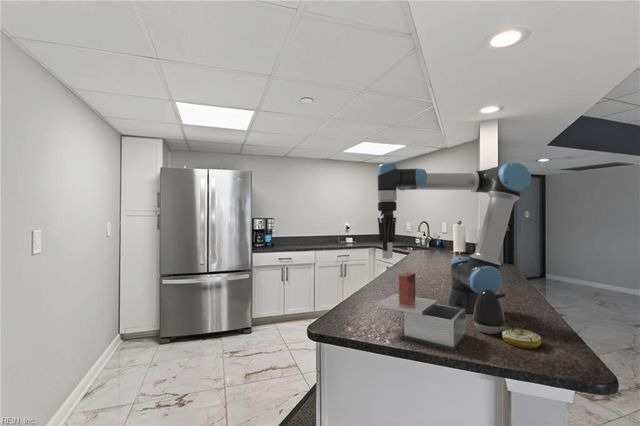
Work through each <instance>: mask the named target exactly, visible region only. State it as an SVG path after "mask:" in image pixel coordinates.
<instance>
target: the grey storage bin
mask: <svg viewBox="0 0 640 426" xmlns="http://www.w3.org/2000/svg"><path fill="white" fill-rule="evenodd" d="M403 314H404V316H403V318H404V320H403V321H404V324H403V325H404V328H403V329H404V331H403V332H404V336H403V337H404V339H406V340H410V341H414V342H418V343H422V344H427V345H429V346H435V347H439V348H443V349H448V350H450V351H455V350H456V349H457V347H458V345H459V344H460V343H461V342H462V340H463V339H464V337H465V336H466V333H467V332H466V331H467V330H466V329H467V328H466V327H467V326H466V325H467V321H466V318H467V317H466V310H465V309H462V308H456V307H450V306H447V305H445V304H444V305H443V304H439V303H438V304H436V305H435V306H434V307H432V308H431V309H430V310H428V311H427V312H426V313H424V314H423V315H419V314H414V313H409V312H404V311H403Z"/></svg>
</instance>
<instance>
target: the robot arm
mask: <svg viewBox="0 0 640 426" xmlns="http://www.w3.org/2000/svg"><path fill="white" fill-rule="evenodd" d="M376 175H377V201H378V202H377V211H379V212H380V217H377V223H378V238H379V243H382V260H383V259H384V260H390V259H393V243H395V242H396V241H395V240H396V225H397V224H396V223H397V217H396V216H395V217H394V212H395V211H397V208H398V207H397V205H398V204H397V202H396V201H397V199H398V198H397V190H398V191H406V190H407V191H409V190H414V191H415V190H422V191H423V190H426V191H427V190H431V191H432V190H435V191H436V190H440V191H441V190H442V191H443V190H444V191H445V190H446V191H455V190H456V191H457V190H458V191H461V190H465V191H468V190H469V191H470V192H472V193H486V194H487V195H488V196H489V198H490V199H489V201H488V205H487V209H486V212H485V215H484V220H483V223H482V226H481V230H480V235H479V238H478V241H477V245H476V248H475V251H474V253H472V254H471V255H469V257H452V259H451V261H450V273H451V275H450V283H451V288H450V293H449V296H448V298H447V305H446V306H450V307H456V308H462V309H465V310H466V313H467V314H473V312H474V307H475V303H476V300H477V298H478V296H479V294H480V293H481V292H482V291H483V290H486V289H489V290H492V291H494V292H495V293H496V292H498V291H499V290H500V288H501V287H502V285H503V281H504V279H503V275H502V273H501V266H502V264H501V262H500V260H499V257H500V254H501V250H502V247H503V243H504V239H505V236H506V233H507V228H508V225H509V222H510V218H511V213H512V211H513V207H514V203H515V202H517V201H518V200H520V198H521V194H522V191H525V190H526V189H527V188H528V187H529V186H530V183H531V181H532V176H531V172H530V170H529V169H528V167H526V165H524V164H523V163H520V162H517V161H516V162H515V161H514V162H506V163H504V164H501V165H498V166H494V167H491V168H487V169H482V170H472V171H471V172H456V173H455V172H427V171H426V170H425V168H417V167H416V168H398V167H397V164H396V163H389V162H388V163H387V162H386V163H382V164H381V163H380V164H379V165H378V167H377V174H376Z"/></svg>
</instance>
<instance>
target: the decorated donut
mask: <svg viewBox="0 0 640 426" xmlns="http://www.w3.org/2000/svg"><path fill="white" fill-rule="evenodd" d="M501 334H502V339H503V341H504V343H508V345H511V346H514V347H519V348H521V349H530V350H534V349H535V350H536V349H537V348H539V346H541V344H542V337H541V336H540V335H539V334H537V333H535V332H534V331H531V330H526V329H522V328H508V329H504V330H502V331H501Z"/></svg>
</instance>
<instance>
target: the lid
mask: <svg viewBox="0 0 640 426" xmlns="http://www.w3.org/2000/svg"><path fill="white" fill-rule="evenodd" d="M398 275H399V274H398ZM398 290H399V291H398V293H394V294H392V295H390V296H388V297H386V298H384V299H382V300H380V301H378V302H376V307H378V308H379V307H380V308H384V309H388V310H390V309H391V310H394V311H400V312H403V313H404V312H409V313H414V314H419V315H423V314H424V313H426V312H427V311H428V310H430V309H431V308H432V307H434V306H435V305H436V304H438V305H439V303H438V299H433V298H425V297H419V296H416V273H415V272H405V273H403V274H400V275H399V276H398Z"/></svg>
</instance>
